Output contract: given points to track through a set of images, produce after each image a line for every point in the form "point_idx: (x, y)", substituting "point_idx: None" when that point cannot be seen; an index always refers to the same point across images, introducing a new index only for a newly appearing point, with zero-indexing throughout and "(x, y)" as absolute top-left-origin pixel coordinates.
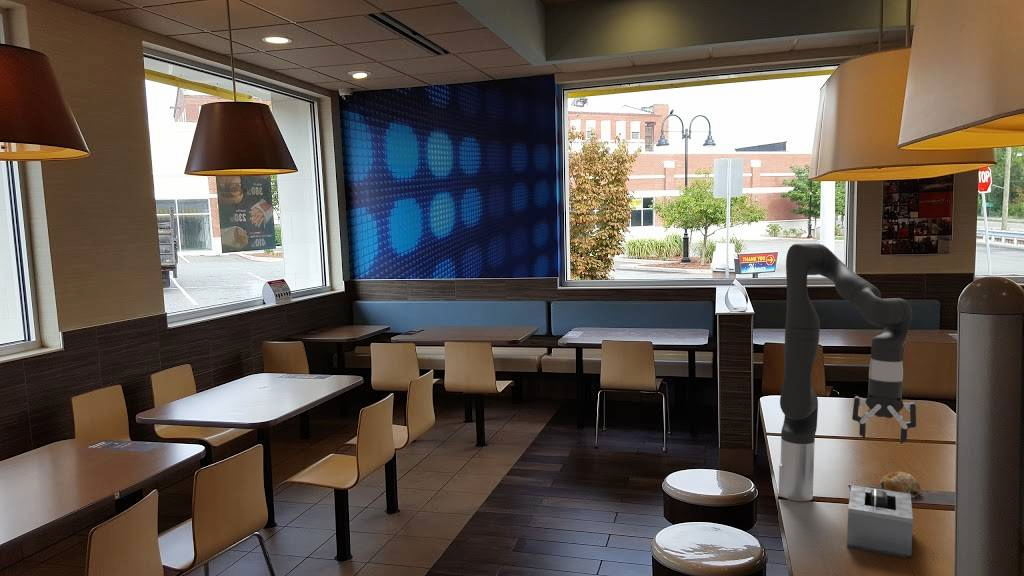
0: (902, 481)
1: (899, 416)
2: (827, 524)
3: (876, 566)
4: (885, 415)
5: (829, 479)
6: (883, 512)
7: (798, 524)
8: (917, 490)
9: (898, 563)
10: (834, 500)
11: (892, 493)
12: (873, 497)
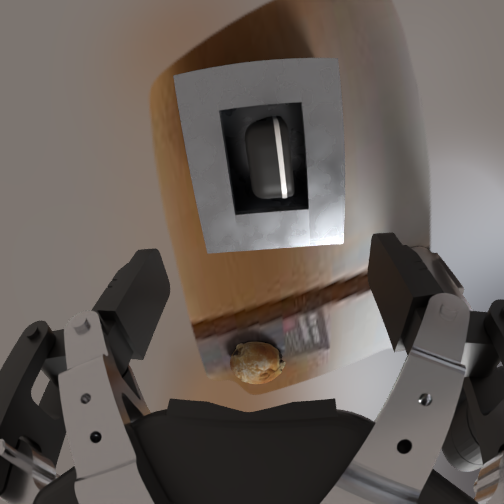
0: (251, 362)
1: (64, 399)
2: (364, 164)
3: (253, 13)
4: (225, 427)
5: (354, 352)
6: (247, 74)
7: (411, 139)
8: (232, 357)
9: (218, 48)
10: (352, 284)
11: (245, 234)
12: (282, 130)
